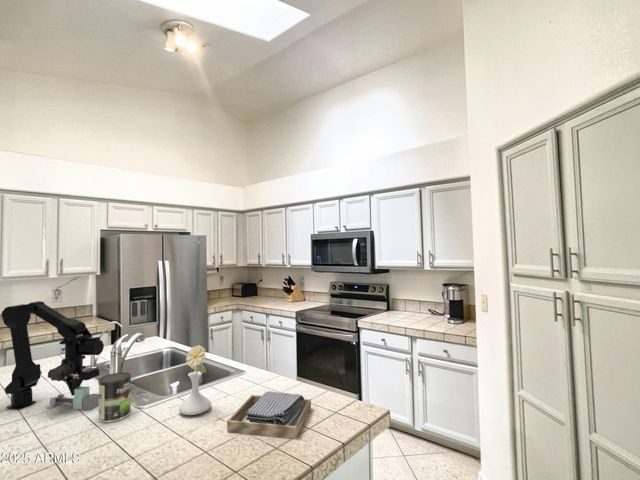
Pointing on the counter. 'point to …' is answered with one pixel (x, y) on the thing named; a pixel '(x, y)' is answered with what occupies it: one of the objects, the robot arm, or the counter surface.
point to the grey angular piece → (88, 401)
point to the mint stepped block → (80, 396)
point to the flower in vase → (195, 384)
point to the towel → (276, 409)
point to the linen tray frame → (262, 428)
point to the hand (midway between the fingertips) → (73, 395)
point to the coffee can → (114, 397)
